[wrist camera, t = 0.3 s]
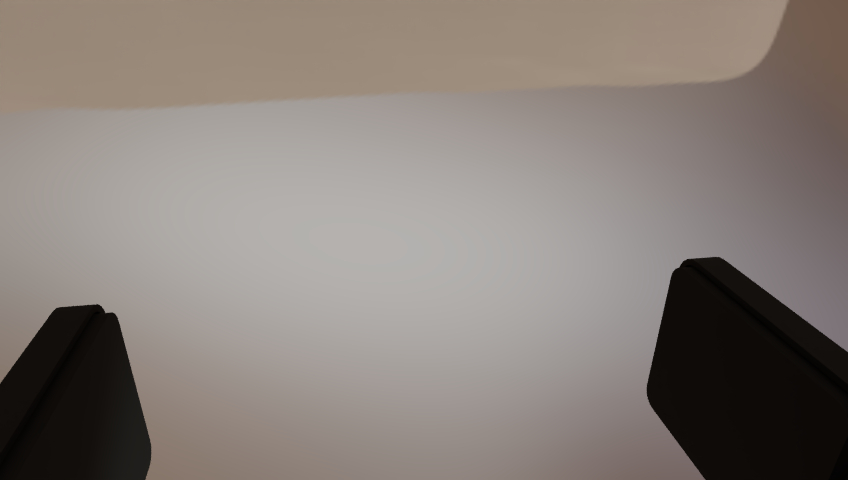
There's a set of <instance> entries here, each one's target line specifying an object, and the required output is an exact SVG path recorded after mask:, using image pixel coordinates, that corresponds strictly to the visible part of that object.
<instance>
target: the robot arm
mask: <svg viewBox="0 0 848 480" xmlns="http://www.w3.org/2000/svg"><path fill="white" fill-rule="evenodd" d="M647 397H648V400H649V403H650V405H651V407H652V408H653V410H654V411H655V412H656V414H657V415H658V416H659V418H660V419H661V420H662V422H663V423H664V424H665V426H666V427H667V428H668V430H669V431H670V433H671V434H672V435H673V436H674V438H675V439H676V441H677V442H678V443H679V445H680V446H681V447H682V449H683V450H684V451H685V453H686V454H687V456H688V457H689V458H690V460H691V461H692V462H693V463H694V465H695V466H696V468H697V469H698V470H699V472H700V473H701V474H702V476H703V477H704V478H705V479H706V480H848V352H847V351H845V350H844V349H843V348H841V347H840V346H839V345H837V344H836V343H835V342H833V341H832V340H831V339H829V338H828V337H827V336H825V335H824V334H823V333H821V332H819V330H817V329H816V328H815V327H813V326H812V325H811V324H809V323H808V322H807V321H805V320H804V319H802V318H801V317H800V316H799V315H797V314H796V313H795V312H793V311H792V310H791V309H789V308H788V307H787V306H785V305H784V304H782V303H781V302H780V301H779V300H777V299H776V298H775V297H773V296H772V295H771V294H769V293H768V292H767V291H765V290H764V289H763V288H761V287H760V286H759V285H757V284H756V283H754V282H753V281H752V280H751V279H749V278H748V277H747V276H745V275H744V274H742V273H741V272H740V271H738V270H737V269H736V268H734V267H733V266H732V265H731V264H729V263H728V262H727V261H725V260H724V259H722V258H720V257H710V258H696V259H687V260H685V261H683V263H682V264H681V265H680V267H679V268H677V269H675V270H674V271H673V273H672V276H671V280H670V285H669V289H668V294H667V298H666V302H665V307H664V311H663V316H662V320H661V325H660V329H659V334H658V338H657V343H656V348H655V352H654V356H653V361H652V365H651V370H650V374H649V379H648V383H647ZM150 461H151V443H150V438H149V435H148V431H147V427H146V423H145V419H144V416H143V412H142V408H141V404H140V400H139V397H138V393H137V389H136V385H135V382H134V378H133V374H132V370H131V366H130V363H129V359H128V355H127V351H126V347H125V343H124V340H123V336H122V332H121V328H120V324H119V321H118V318H117V316H116V315H115V314H114V313H105V311H104V309H103V308H102V306H100V305H98V304H97V305H84V306H71V307H59V308H56V309H55V310H54V311H53V312H52V313H51V315H50V316H49V317H48V319H47V320H46V322H45V323H44V324H43V326H42V327H41V328H40V330H39V331H38V333H37V334H36V335H35V337H34V338H33V339H32V341H31V342H30V343H29V345H28V346H27V348H26V349H25V350H24V352H23V353H22V354H21V356H20V357H19V359H18V360H17V361H16V363H15V364H14V366H13V367H12V368H11V370H10V371H9V372H8V374H7V375H6V377H5V378H4V379H3V381H2V382H1V384H0V480H145V479H146V476H147V472H148V469H149V466H150Z"/></svg>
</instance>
